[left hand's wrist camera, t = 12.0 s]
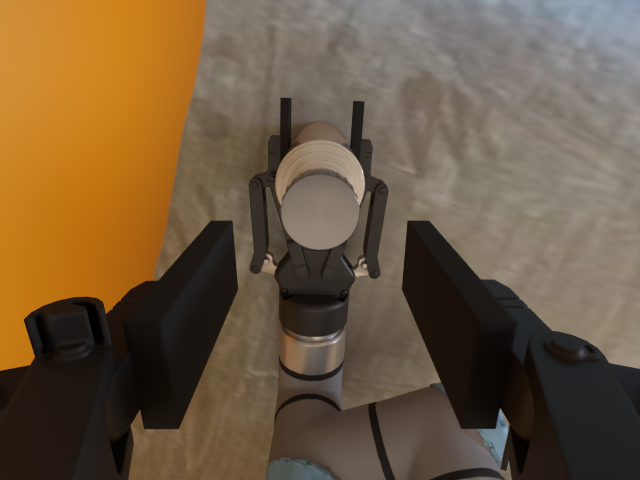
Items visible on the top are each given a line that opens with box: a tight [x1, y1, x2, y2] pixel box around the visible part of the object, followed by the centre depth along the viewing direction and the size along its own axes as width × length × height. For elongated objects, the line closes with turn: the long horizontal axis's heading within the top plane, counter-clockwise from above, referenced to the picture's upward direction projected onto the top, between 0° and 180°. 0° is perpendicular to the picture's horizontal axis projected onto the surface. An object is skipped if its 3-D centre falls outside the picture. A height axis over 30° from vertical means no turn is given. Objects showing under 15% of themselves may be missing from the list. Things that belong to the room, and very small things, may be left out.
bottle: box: [275, 122, 365, 205], centre depth 31 cm, size 6×6×25 cm
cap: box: [280, 168, 360, 250], centre depth 20 cm, size 4×4×2 cm
